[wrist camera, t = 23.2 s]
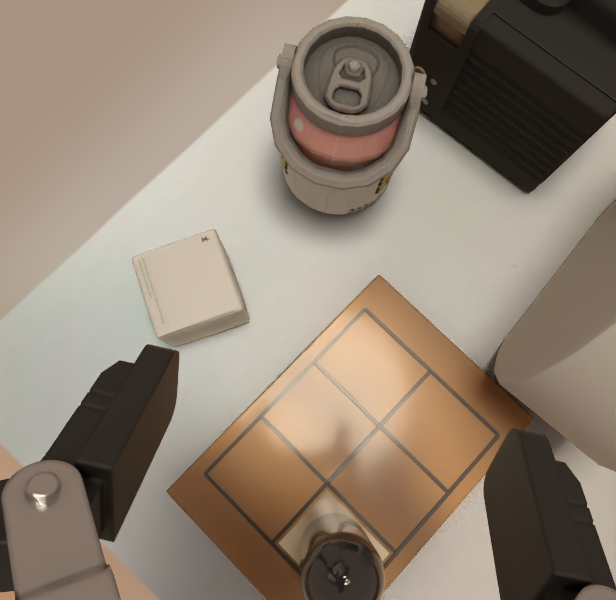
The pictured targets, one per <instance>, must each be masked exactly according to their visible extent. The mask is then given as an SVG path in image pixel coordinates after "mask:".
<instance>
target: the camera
mask: <svg viewBox="0 0 616 600" xmlns="http://www.w3.org/2000/svg"><path fill="white" fill-rule="evenodd" d="M410 55H411V59H412V62H413V65H414V73H415V72H417V73H421V74H426V75H427V76H426V82H425V85H426V86H427V95H426V97H425V99H424V100H423V101H421V105H420V109H422V110H423V111H424V112H425V113H427V114H428V115H429V116H431V117H432V118H433V119H435V120H436V122H437V123H438V124H439V125H441V126H442V127H443V128H445V129H446V130H447V131H449V132H450V133H451V134H453V135H454V136H455V137H457V138H458V139H459V140H460V141H462V142H463V143H464V144H466V145H467V146H468V147H470V148H471V149H472V150H474V151H475V152H476V153H478V154H479V155H480V156H481V157H483V158H484V159H485V160H487V161H488V162H489V163H491V164H492V165H493V166H495V167H496V168H497V169H499V170H500V171H501V172H502V173H504V174H505V175H506V176H508V177H509V178H510V179H512V180H513V181H514V182H516V183H517V184H518V185H520V186H521V187H522V188H523V189H525V190H526V191H528V192H531V191H533V190H534V189H535V188H536V187H537V186H538V185H539V184H541V183H542V182H543V181H544V180H546V179H547V178H548V177H549V176H550V175H551V174H552V173H553V172H554V171H555V170H556V169H557V168H558V167H559V166H560V165H561V164H563V163H564V162H565V161H566V160H567V159H568V158H569V157H570V156H571V155H572V154H573V153H574V152H575V151H576V150H577V149H578V148H579V147H581V146H582V145H583V144H584V143H585V142H586V141H587V140H588V139H589V138H590V137H591V136H592V135H593V134H594V133H595V132H596V131H598V130H599V129H600V128H601V127H602V126H603V125H604V124H605V123H606V122H607V121H608V120H609V119H610V118H611V117H612V116H613V115H615V114H616V0H425V3H424V6H423V10H422V13H421V16H420V19H419V22H418V26H417V29H416V32H415V35H414V39H413V42H412V45H411V48H410Z"/></svg>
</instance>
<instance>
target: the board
mask: <svg viewBox="0 0 616 600" xmlns="http://www.w3.org/2000/svg"><path fill="white" fill-rule="evenodd" d="M532 420H533V417H532V416H531V415H530V414H529V413H528V412H526V411H525V410H524V409H523V408H522V407H521V406H520V405H519V404H518V403H517V402H516V401H515V400H514V399H512V398H511V397H510V396H509V395H508V394H507V393H506V392H505V391H504V390H503V389H502V388H501V387H500V386H498V385H497V384H496V383H495V382H494V381H493V380H492V379H491V378H490V377H489V376H488V375H487V374H486V373H485V372H483V371H482V370H481V369H480V368H479V367H478V366H477V365H476V364H475V363H474V362H473V361H472V360H471V359H469V358H468V357H467V356H466V355H465V354H464V353H463V352H462V351H461V350H460V349H459V348H458V347H457V346H456V345H454V344H453V343H452V342H451V341H450V340H449V339H448V338H447V337H446V336H445V335H444V334H443V333H442V332H440V331H439V330H438V329H437V328H436V327H435V326H434V325H433V324H432V323H431V322H430V321H429V320H428V319H426V318H425V317H424V316H423V315H422V314H421V313H420V312H419V311H418V310H417V309H416V308H415V307H414V306H413V305H411V304H410V303H409V302H408V301H407V300H406V299H405V298H404V297H403V296H402V295H401V294H400V293H399V292H397V291H396V290H395V289H394V288H393V287H392V286H391V285H390V284H389V283H388V282H387V281H386V280H385V279H384V278H382V277H381V276H380V275H378V276H377V277H376V278H375V279H374V280H373V281H372V282H371V283H370V284H369V285H368V286H367V287H366V288H365V289H364V290H363V291H362V292H361V293H360V294H359V295H358V296H357V297H356V298H355V299H354V300H353V301H352V302H351V303H350V304H349V305H348V306H347V307H346V309H345V310H344V311H343V312H342V313H341V314H340V315H339V316H338V317H337V318H336V319H335V320H334V321H333V322H332V323H331V324H330V325H329V326H328V327H327V328H326V329H325V330H324V331H323V332H322V333H321V334H320V335H319V336H318V337H317V338H316V339H315V340H314V341H313V342H312V343H311V344H310V345H309V346H308V347H307V348H306V349H305V350H304V351H303V352H302V353H301V354H300V355H299V356H298V357H297V358H296V359H295V360H294V361H293V363H292V364H291V365H290V366H289V367H288V368H287V369H286V370H285V371H284V372H283V373H282V374H281V375H280V376H279V377H278V378H277V379H276V380H275V381H274V382H273V383H272V384H271V385H270V386H269V387H268V388H267V389H266V390H265V391H264V392H263V393H262V394H261V395H260V396H259V397H258V398H257V399H256V400H255V401H254V402H253V403H252V404H251V405H250V406H249V407H248V408H247V409H246V410H245V411H244V412H243V413H242V414H241V415H240V417H239V418H238V419H237V420H236V421H235V422H234V423H233V424H232V425H231V426H230V427H229V428H228V429H227V430H226V431H225V432H224V433H223V434H222V435H221V436H220V437H219V438H218V439H217V440H216V441H215V442H214V443H213V444H212V445H211V446H210V447H209V448H208V449H207V450H206V451H205V452H204V453H203V454H202V455H201V456H200V457H199V458H198V459H197V460H196V461H195V462H194V463H193V464H192V465H191V466H190V467H189V468H188V469H187V471H186V472H185V473H184V474H183V475H182V476H181V477H180V478H179V479H178V480H177V481H176V482H175V483H174V484H173V485H172V486H171V487H170V488H169V489H168V490H167V493H168V494H169V495H170V496H171V497H172V499H173V500H174V501H175V502H176V503H177V504H178V505H179V506H180V507H181V508H182V509H183V510H184V511H185V512H186V513H187V515H188V516H189V517H190V518H191V519H192V520H193V521H194V522H195V523H196V524H197V525H198V526H199V527H200V528H201V529H202V531H203V532H204V533H205V534H206V535H207V536H208V537H209V538H210V539H211V540H212V541H213V542H214V543H215V544H216V545H217V547H218V548H219V549H220V550H221V551H222V552H223V553H224V554H225V555H226V556H227V557H228V558H229V559H230V560H231V562H232V563H233V564H234V565H235V566H236V567H237V568H238V569H239V570H240V571H241V572H242V573H243V574H244V575H245V576H246V578H247V579H248V580H249V581H250V582H251V583H252V584H253V585H254V586H255V587H256V588H257V589H258V590H259V591H260V592H261V594H262V595H263V596H264V597H265V598H266V599H267V600H306V599H305V597H304V594H303V591H302V587H301V578H300V555H299V547H300V541H301V538H302V535H303V533H304V531H305V529H306V528H307V527H308V525H309V524H310V523H311V522H312V521H313V520H315V519H316V518H318V517H320V516H322V515H325V514H329V513H340V514H344V515H347V516H349V517H351V518H353V519H354V520H356V521H357V522H358V523H359V524H360V525H361V526H362V528H363V529H364V531H365V532H366V534H367V536H368V537H369V539H370V540H371V542H372V544H373V545H374V547H375V548H376V550H377V552H378V554H379V555H380V557H381V560H382V562H383V566H384V572H385V586H384V591H385V590H386V589H387V588H388V587H389V585H390V584H391V583H392V582H393V581H394V580H395V579H396V577H397V576H398V575H399V574H400V573H401V572H402V570H403V569H404V568H405V567H406V566H407V565H408V563H409V562H410V561H411V560H412V559H413V558H414V556H415V555H416V554H417V553H418V552H419V551H420V550H421V548H422V547H423V546H424V545H425V544H426V543H427V541H428V540H429V539H430V538H431V537H432V536H433V534H434V533H435V532H436V531H437V530H438V529H439V527H440V526H441V525H442V524H443V523H444V522H445V521H446V519H447V518H448V517H449V516H450V515H451V514H452V512H453V511H454V510H455V509H456V508H457V507H458V505H459V504H460V503H461V502H462V501H463V500H464V498H465V497H466V496H467V495H468V494H469V493H470V492H471V490H472V489H473V488H474V487H475V486H476V485H477V483H478V482H479V481H480V480H481V479H482V478H483V476H484V475H485V474H486V473H487V470H488V468H489V466H490V464H491V462H492V461H493V459H494V457H495V455H496V453H497V451H498V450H499V448H500V446H501V444H502V442H503V441H504V439H505V437H506V435H507V433H508V432H509V431H510V430H511V429H513V428H515V429H519V430H524V429H525V428H526V427H527V425H528V424H529V423H530V422H531V421H532ZM384 591H383V592H384Z"/></svg>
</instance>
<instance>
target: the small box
mask: <svg viewBox="0 0 616 600" xmlns="http://www.w3.org/2000/svg"><path fill="white" fill-rule="evenodd" d="M132 261H133V265H134V268H135V272H136V275H137V278H138V281H139V284H140V287H141V290H142V293H143V296H144V299H145V302H146V306H147V309H148V312H149V315H150V318H151V321H152V324H153V327H154V329H155V332H156V335H157V337H158V338H160V339H162V340H163V341H165V342H167V343H169V344H171V345H173V346H175V347H176V346H179V345H183V344H186V343H189V342H192V341H195V340H198V339H201V338H204V337H207V336H210V335H213V334H216V333H219V332H222V331H225V330H228V329H231V328H234V327H236V326H239V325H242V324H245V323H247V322H249V315H248V312H247V309H246V305H245V302H244V299H243V296H242V293H241V290H240V287H239V284H238V282H237V279H236V276H235V273H234V271H233V268H232V266H231V263H230V261H229V258H228V256H227V253H226V251H225V249H224V247H223V245H222V243H221V241H220V238H219V236H218V234H217V232H216V230H215V229H212V230H209V231H206V232H203V233H200V234H197V235H194V236H192V237H189V238H186V239H183V240H180V241H177V242H174V243H171V244H169V245H166V246H163V247H160V248H157V249H154V250H151V251H148V252H146V253H143V254H140V255H137V256H134V257H133V258H132Z"/></svg>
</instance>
